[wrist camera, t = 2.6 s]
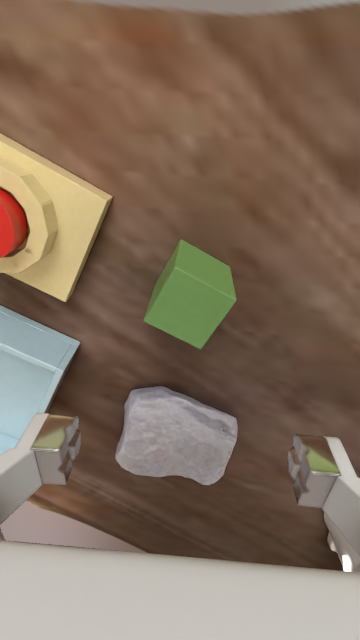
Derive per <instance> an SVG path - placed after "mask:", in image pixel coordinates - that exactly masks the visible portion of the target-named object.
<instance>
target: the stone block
mask: <svg viewBox="0 0 360 640" xmlns="http://www.w3.org/2000/svg"><path fill="white" fill-rule="evenodd" d="M124 408H125V415H124V428H123V432H122V435H121V438H120V441H119V443H118V445H117V451H116V456H115V457H116V460H117V462H118V463H119V464H120V466H121V467H122V468H124V469H125V470H128V471H130V472H131V473H133V474H136V475H143V476H155V477H163V476H168V475H180V476H183V477H186V478H192V479H194V480H195V481H197V482H199V483H200V484H203V485H210V484H213V483H215V482H216V481H218V480H219V479H220V478H221V477H222V476H223V475H224V471H225V467H226V464H227V462H228V460H229V458H230V456H231V453H232V450H233V448H234V445H235V443H236V439H237V431H238V427H237V422H236V420H237V419H236V418H234V417H233V416H231V415H229V414H227V413H224V412H222V411H219V410H217V409H215V408H212V407H210V406H207V405H204V404H202V403H200V402H199V401H197V400H195V399H193V398H191V397H188V396H186V395H184V394H181V393H178V392H174V391H172V390H170V389H168V388H166V387H161V386H156V387H152V388H141V389H135V390H132V391H131V392H130V394H129V397H128V399H127V401H126V402H125V405H124Z"/></svg>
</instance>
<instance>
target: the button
mask: <svg viewBox="0 0 360 640" xmlns="http://www.w3.org/2000/svg"><path fill="white" fill-rule="evenodd" d="M26 234H27V222H26V218H25V215H24V213H23V211H22V209H21V207H20V206H19V204H18V203H17V202H16V201H15V200H14V198H12V197H11V196H10V195H9V194H8V193H6V192H5V191H3V190H1V189H0V258H2V257H4V256H6V255H7V254H9V253H10V252H12V251H14V250H15V249H17V248H18V247H20V246H21V244H22V243H23V242H24V240H25V238H26Z"/></svg>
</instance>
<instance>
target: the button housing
mask: <svg viewBox="0 0 360 640" xmlns="http://www.w3.org/2000/svg"><path fill="white" fill-rule="evenodd" d="M0 189H1V190H3V191H5V192H6V193H8V194H9V195H10V196H11V197H12V198H14V200H15V201H16V202H17V203H18V204H19V206H20V207H21V209H22V211H23V213H24V215H25V218H26V222H27V234H26V238H25V240H24V242H23V243H22V244H21V246H20V247H18V248H17V249H15V250H14V251H12V252H10V253H9V254H7V255H6V256H4V257H2V258H0V273H6V274H8V275H10V276H12V277H14V278H16V279H18V280H20V281H22V282H24V283H27V284H29V285H31V286H33V287H35V288H37V289H39V290H41V291H43V292H45V293H47V294H49V295H51V296H54V297H56V298H58V299H60V300H62V301H64V302H66V301H67V300H68V298H69V297H70V296H71V295H72V293H73V291H74V289H75V286H76V284H77V281H78V279H79V277H80V274H81V272H82V270H83V267H84V265H85V262H86V260H87V258H88V255H89V253H90V250H91V248H92V246H93V243H94V241H95V238H96V236H97V234H98V231H99V229H100V226H101V224H102V222H103V219H104V217H105V215H106V212H107V210H108V207H109V205H110V203H111V200H112V198H113V197H112V196H111V195H109V194H107V193H105V192H103V191H102V190H100V189H98V188H96V187H95V186H93V185H91V184H89V183H88V182H86V181H84V180H82V179H80V178H79V177H77V176H75V175H73V174H72V173H70V172H68V171H66V170H65V169H63V168H61V167H59V166H57V165H56V164H54V163H52V162H50V161H49V160H47V159H45V158H43V157H41V156H40V155H38V154H36V153H34V152H33V151H31V150H29V149H27V148H26V147H24V146H22V145H20V144H18V143H17V142H15V141H13V140H11V139H10V138H8V137H6V136H4V135H3V134H1V133H0Z"/></svg>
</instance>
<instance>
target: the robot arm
mask: <svg viewBox="0 0 360 640" xmlns="http://www.w3.org/2000/svg"><path fill="white" fill-rule="evenodd" d="M78 425H79V421H78V417H76V416H67V415H58V414H47V413H36V414H35V415H34V416H33V417H32V419H31V421H30V423H29V424H28V426H27V428H26V429H25V431H24V433H23V434H22V436H21V438H20V439H19V441H18V443H17V444H16V446H15V448H10V449H8V450H7V451H5V452H4V453H2V454H1V455H0V525H1V524H2V523H3V522H4V521H5V520H6V519H7V518H8V517H9V516H10V515H11V514H12V513H13V512H14V511H15V510H16V509H18V508H19V507H20V506H21V505H22V503H24V502H25V501H26V500H27V499H28V498H29V497H30V496H31V495H32V494H33V493H34V492H35V491H36V490H37V489H38V488H40V487H41V486H42V484H60V485H66V483H67V480H68V478H69V475H70V472H71V470H72V464H71V461H72V460H74V459H75V458H76V457H77V454H78V451H79V447H80V442H81V434H80V431H79V430H78V429H77V427H78ZM293 444H294V447H292V448H291V449H290V451H289V454H288V469H289V473H290V476H291V477H292V478H293V479H294V480H295V483H294V486H293V489H294V493H295V496H296V500H297V504H298V505H301V506H310V507H319V508H322V510H323V511H324V521H325V524H326V525H327V527H328V529H329V534H328V538H327V541H328V544H329V546H330V548H331V550H332V551H335V552H337V553H338V556H339V558H340V561H341V563H342V566H343V568H344V571H337V570H326V569H315V568H304V567H293V566H282V565H271V564H260V563H249V562H239V561H228V560H217V559H206V558H195V557H184V556H172V555H161V554H150V553H139V552H128V551H116V550H106V549H95V548H84V547H73V546H61V545H51V544H40V543H29V542H17V541H7V540H5V539H4V536H3V534H2V532H1V529H0V640H360V478H358V477H357V475H356V473H355V471H354V469H353V467H352V464H351V462H350V460H349V458H348V456H347V454H346V451H345V449H344V447H343V445H342V443H341V441H340V439H339V438H337V437H323V436H313V435H298V434H296V435H295V436H294V439H293Z"/></svg>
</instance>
